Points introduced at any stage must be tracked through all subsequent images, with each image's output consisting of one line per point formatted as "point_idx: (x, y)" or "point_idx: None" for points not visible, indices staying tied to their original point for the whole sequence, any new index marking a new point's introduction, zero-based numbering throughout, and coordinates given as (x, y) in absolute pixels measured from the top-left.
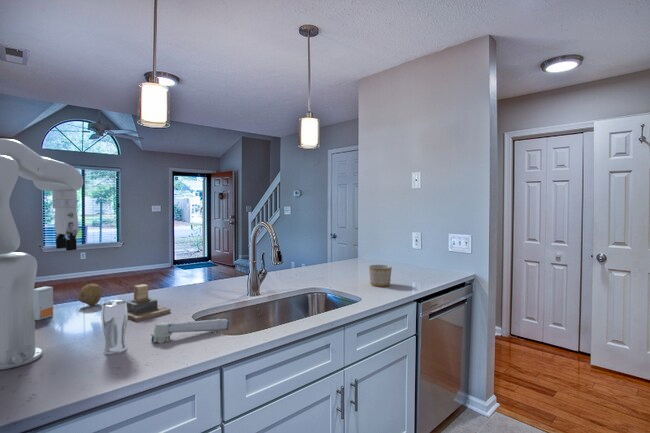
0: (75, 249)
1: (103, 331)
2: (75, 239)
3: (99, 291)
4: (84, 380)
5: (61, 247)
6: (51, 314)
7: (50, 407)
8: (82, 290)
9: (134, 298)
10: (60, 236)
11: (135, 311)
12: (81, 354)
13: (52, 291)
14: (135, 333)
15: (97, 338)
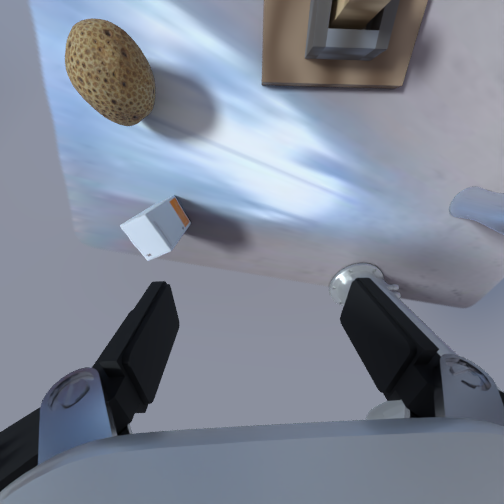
0: (365, 281)
1: (492, 229)
2: (434, 352)
3: (138, 52)
4: (485, 258)
5: (174, 309)
6: (176, 200)
7: (490, 288)
8: (115, 110)
9: (347, 8)
10: (121, 417)
11: (372, 57)
12: (422, 235)
13: (152, 212)
14: (447, 137)
15: (392, 196)
